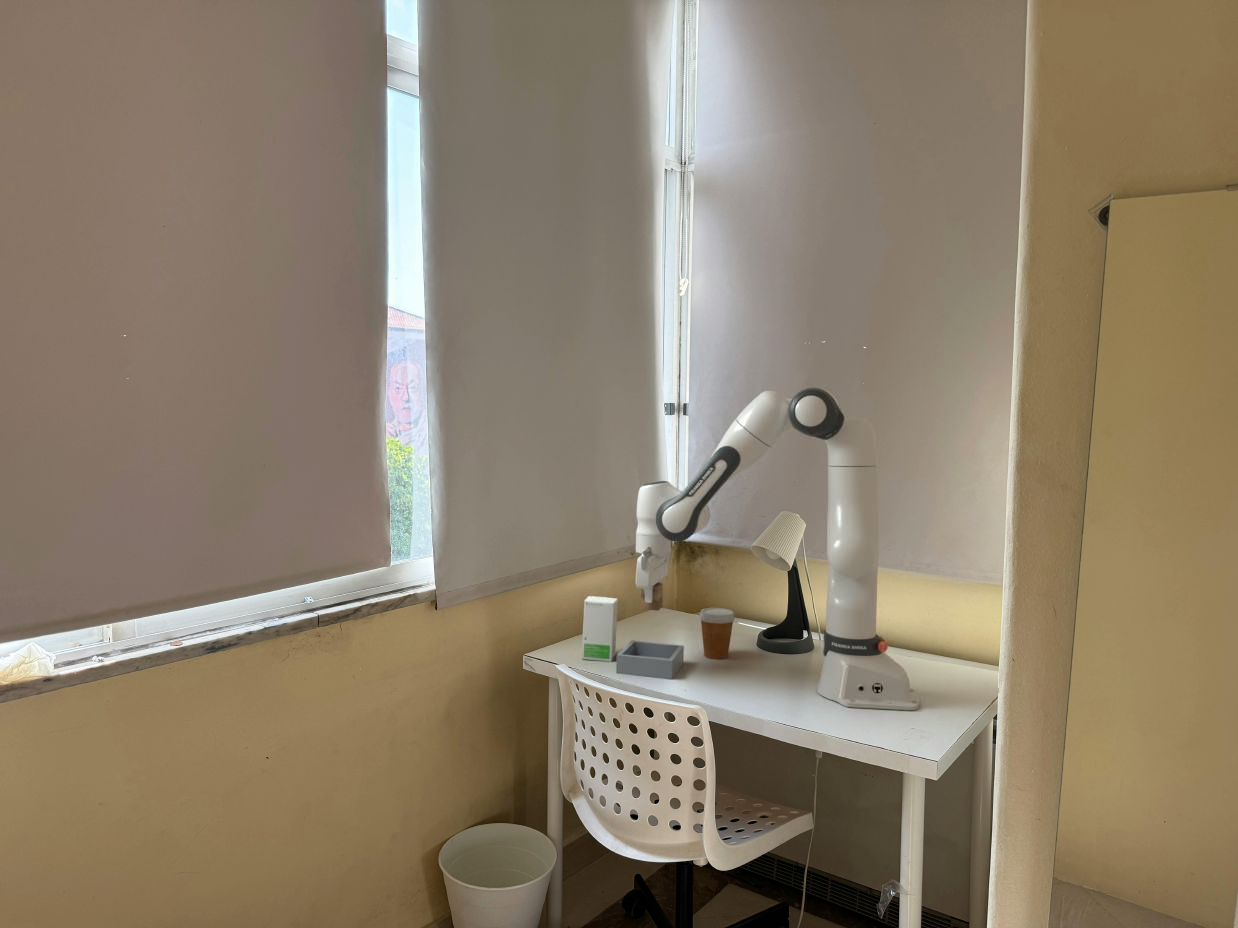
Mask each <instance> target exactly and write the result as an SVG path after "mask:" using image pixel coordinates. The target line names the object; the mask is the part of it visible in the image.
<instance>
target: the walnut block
mask: <svg viewBox="0 0 1238 928" xmlns="http://www.w3.org/2000/svg"><path fill="white" fill-rule="evenodd" d="M663 589H664V583H656V584H655V585H654V586H653V589H652V590H653V601H652V602H651V603H646V602H645V594H644V589H642V588H640V610H647V611H648V610H649V611H657V612H658V611H659V610H661V609H662V607H663V598H664V597H663V596H664V595H663V591H664V590H663Z"/></svg>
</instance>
